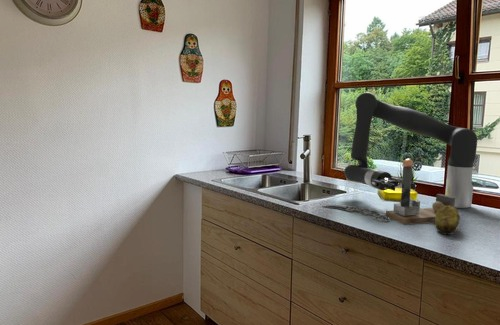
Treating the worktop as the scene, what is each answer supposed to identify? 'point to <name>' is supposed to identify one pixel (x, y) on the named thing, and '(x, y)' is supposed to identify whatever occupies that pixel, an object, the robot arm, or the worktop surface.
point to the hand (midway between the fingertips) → (404, 187)
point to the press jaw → (407, 193)
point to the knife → (363, 211)
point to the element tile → (395, 194)
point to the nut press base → (422, 212)
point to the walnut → (437, 205)
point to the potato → (447, 219)
